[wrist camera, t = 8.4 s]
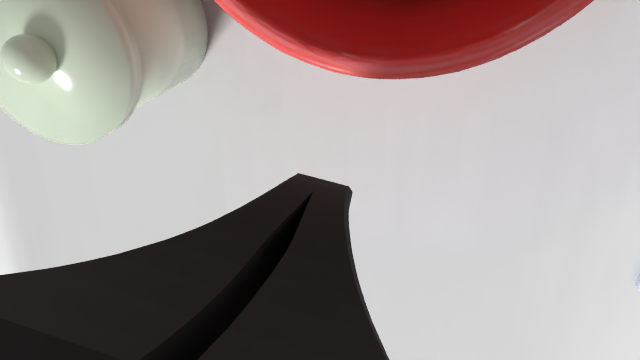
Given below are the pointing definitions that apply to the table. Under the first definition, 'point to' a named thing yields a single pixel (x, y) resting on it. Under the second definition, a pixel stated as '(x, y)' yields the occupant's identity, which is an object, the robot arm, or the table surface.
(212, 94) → the table surface
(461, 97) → the table surface
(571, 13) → the flower pot
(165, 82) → the green jar
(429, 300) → the table surface
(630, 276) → the table surface
